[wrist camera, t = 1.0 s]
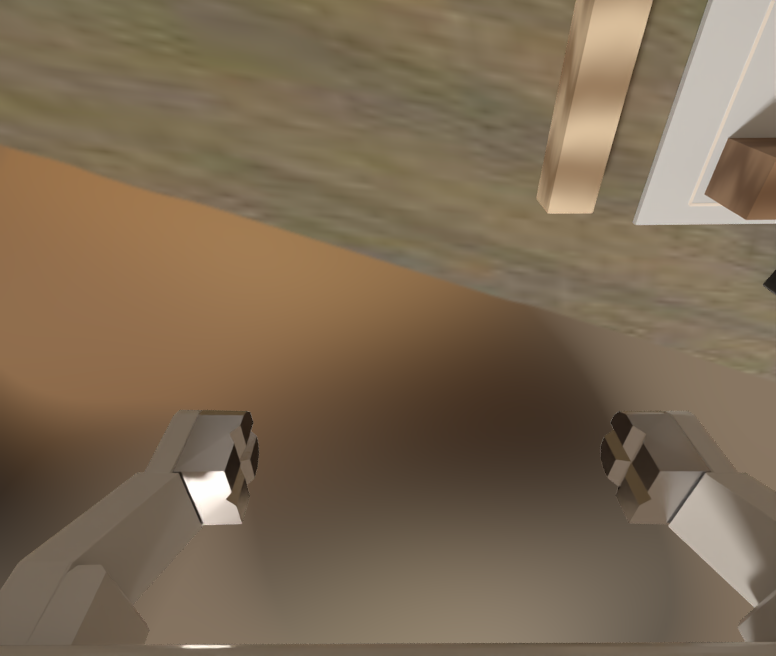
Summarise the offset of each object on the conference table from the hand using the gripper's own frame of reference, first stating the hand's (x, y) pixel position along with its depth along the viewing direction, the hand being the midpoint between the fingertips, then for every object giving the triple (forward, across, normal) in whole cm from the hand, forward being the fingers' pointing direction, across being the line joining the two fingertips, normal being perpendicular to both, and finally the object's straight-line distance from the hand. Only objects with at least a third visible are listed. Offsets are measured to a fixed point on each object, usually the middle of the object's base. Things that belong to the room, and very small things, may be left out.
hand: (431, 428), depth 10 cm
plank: (+35, -15, -3) cm, 38 cm away
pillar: (+34, -32, +4) cm, 47 cm away
